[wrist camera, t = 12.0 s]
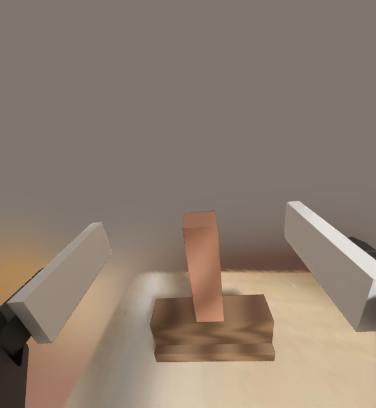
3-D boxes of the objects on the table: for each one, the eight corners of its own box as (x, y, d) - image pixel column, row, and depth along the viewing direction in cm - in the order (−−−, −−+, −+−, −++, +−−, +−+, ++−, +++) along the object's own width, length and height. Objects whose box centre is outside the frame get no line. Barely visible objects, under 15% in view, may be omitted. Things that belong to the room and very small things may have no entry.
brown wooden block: (259, 316, 34) (261, 288, 31) (274, 360, 28) (277, 330, 25) (164, 319, 36) (157, 292, 33) (156, 361, 29) (147, 333, 27)
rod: (220, 297, 31) (214, 210, 24) (223, 321, 27) (217, 225, 21) (196, 298, 31) (184, 213, 25) (196, 322, 27) (182, 228, 21)
